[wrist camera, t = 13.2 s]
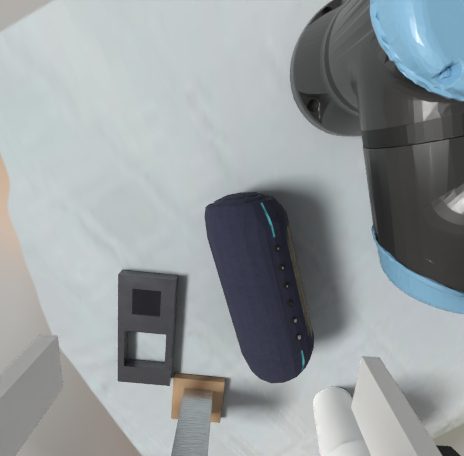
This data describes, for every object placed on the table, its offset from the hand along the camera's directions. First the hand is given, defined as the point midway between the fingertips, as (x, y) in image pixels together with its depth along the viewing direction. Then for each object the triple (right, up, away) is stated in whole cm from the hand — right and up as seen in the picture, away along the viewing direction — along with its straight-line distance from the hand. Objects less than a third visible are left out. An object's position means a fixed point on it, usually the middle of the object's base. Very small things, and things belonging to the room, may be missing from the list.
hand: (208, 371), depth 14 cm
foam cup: (+18, -22, +38) cm, 47 cm away
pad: (-4, -21, +37) cm, 43 cm away
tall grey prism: (-4, -21, +36) cm, 42 cm away
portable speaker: (+5, 0, +32) cm, 32 cm away
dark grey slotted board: (-12, -9, +34) cm, 37 cm away
